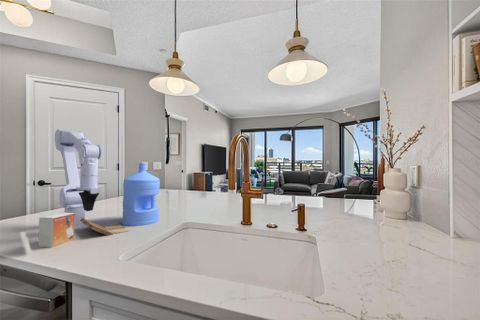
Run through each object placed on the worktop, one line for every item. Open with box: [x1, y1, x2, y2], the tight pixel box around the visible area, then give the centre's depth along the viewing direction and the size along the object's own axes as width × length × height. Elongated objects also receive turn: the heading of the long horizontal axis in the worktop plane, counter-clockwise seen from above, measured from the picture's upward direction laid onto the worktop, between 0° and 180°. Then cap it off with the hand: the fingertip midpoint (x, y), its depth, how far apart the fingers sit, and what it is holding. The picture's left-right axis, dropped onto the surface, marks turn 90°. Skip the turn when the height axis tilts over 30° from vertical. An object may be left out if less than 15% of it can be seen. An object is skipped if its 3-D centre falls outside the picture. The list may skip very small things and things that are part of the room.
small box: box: [37, 211, 75, 249], centre depth 77 cm, size 8×6×10 cm
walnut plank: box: [80, 218, 114, 236], centre depth 90 cm, size 16×8×1 cm
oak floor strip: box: [101, 222, 132, 235], centre depth 95 cm, size 16×6×1 cm, turn 46°
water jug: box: [121, 162, 161, 227], centre depth 107 cm, size 16×16×28 cm
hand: (88, 210), depth 90 cm, fingers closed
